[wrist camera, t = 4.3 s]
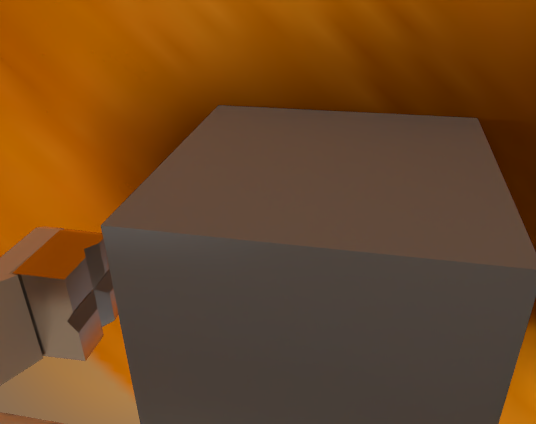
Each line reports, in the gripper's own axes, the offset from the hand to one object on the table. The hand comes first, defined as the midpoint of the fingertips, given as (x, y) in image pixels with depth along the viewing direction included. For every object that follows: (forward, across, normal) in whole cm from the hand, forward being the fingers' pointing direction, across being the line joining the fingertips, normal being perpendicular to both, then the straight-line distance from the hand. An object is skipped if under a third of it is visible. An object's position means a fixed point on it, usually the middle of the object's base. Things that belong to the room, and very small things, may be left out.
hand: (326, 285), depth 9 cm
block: (+2, 0, 0) cm, 2 cm away
